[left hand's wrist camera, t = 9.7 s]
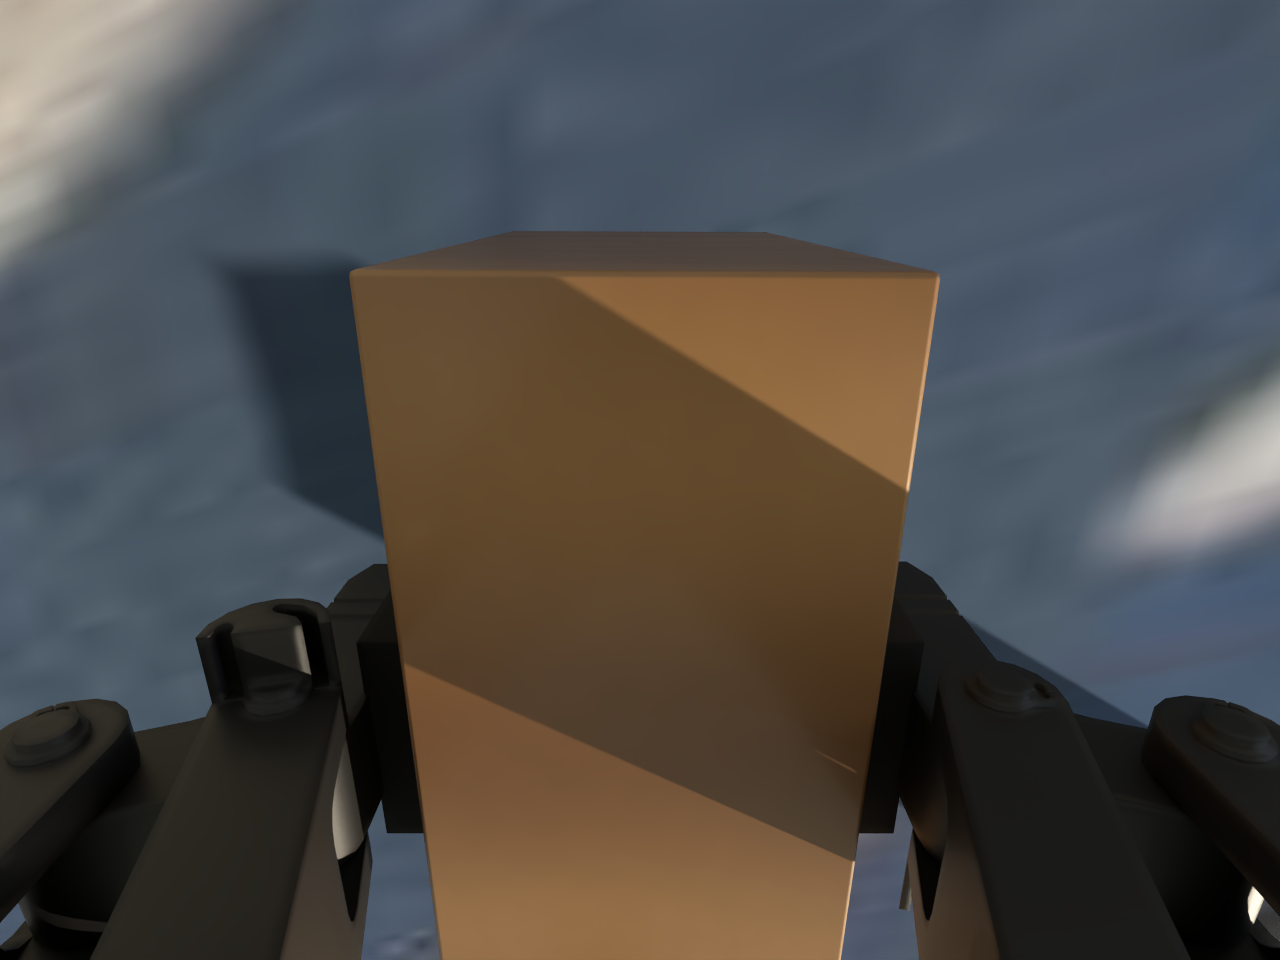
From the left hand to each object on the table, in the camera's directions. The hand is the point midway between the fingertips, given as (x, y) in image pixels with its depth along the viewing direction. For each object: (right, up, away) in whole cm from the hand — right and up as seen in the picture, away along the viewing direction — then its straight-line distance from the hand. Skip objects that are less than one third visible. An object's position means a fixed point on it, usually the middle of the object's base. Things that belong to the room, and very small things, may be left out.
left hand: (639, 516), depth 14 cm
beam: (0, -23, +9) cm, 25 cm away
